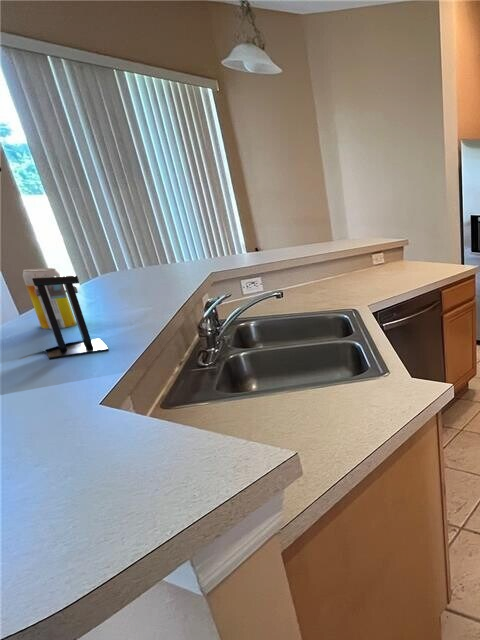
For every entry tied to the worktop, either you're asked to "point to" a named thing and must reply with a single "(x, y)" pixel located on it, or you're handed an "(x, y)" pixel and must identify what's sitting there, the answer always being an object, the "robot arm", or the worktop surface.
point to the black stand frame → (87, 344)
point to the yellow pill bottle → (58, 304)
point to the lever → (56, 284)
